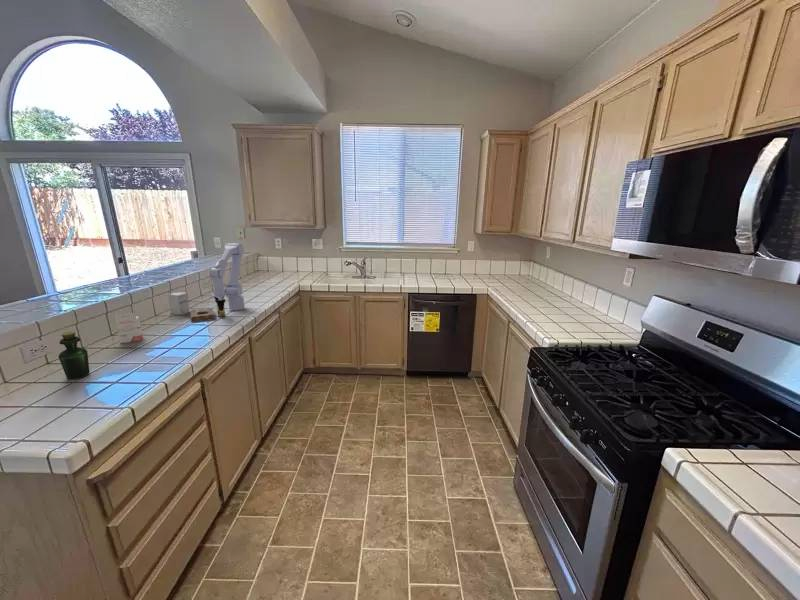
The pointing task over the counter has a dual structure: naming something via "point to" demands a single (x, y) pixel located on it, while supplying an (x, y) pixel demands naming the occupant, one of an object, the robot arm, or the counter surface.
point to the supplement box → (178, 303)
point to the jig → (202, 314)
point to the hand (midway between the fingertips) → (220, 308)
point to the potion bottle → (73, 357)
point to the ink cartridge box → (128, 328)
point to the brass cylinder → (221, 312)
